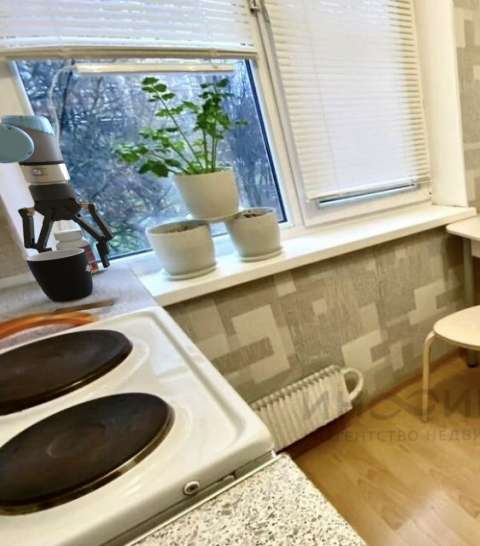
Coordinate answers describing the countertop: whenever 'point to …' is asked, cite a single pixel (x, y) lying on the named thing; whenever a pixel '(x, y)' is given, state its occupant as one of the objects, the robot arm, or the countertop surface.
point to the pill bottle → (76, 245)
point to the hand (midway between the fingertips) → (82, 269)
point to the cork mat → (83, 307)
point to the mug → (62, 274)
